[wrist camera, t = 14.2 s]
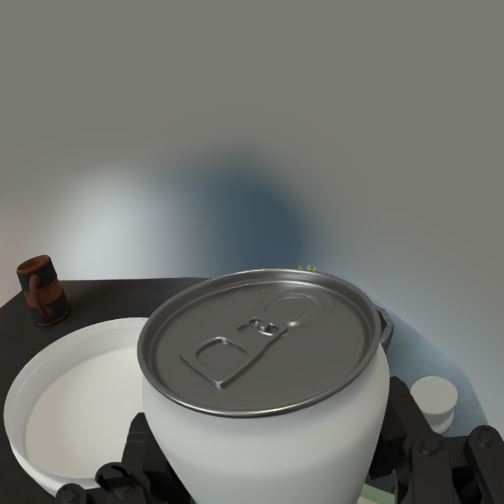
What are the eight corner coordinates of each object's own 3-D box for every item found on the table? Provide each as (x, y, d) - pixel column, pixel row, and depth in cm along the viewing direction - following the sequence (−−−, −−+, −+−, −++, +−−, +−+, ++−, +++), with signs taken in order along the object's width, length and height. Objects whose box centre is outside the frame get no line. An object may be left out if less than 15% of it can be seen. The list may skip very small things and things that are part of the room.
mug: (32, 341, 46) (6, 283, 41) (36, 313, 56) (17, 262, 51) (72, 328, 49) (49, 268, 45) (71, 301, 59) (53, 250, 55)
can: (375, 496, 11) (437, 292, 7) (288, 588, 7) (257, 511, 3) (279, 444, 16) (254, 247, 11) (192, 513, 12) (83, 329, 7)
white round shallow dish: (114, 564, 14) (80, 545, 12) (-3, 420, 27) (-24, 390, 25) (276, 381, 35) (271, 345, 33) (126, 328, 48) (116, 299, 46)
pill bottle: (385, 434, 25) (401, 374, 22) (430, 429, 24) (454, 368, 21) (387, 475, 20) (409, 420, 17) (437, 468, 19) (469, 411, 16)
